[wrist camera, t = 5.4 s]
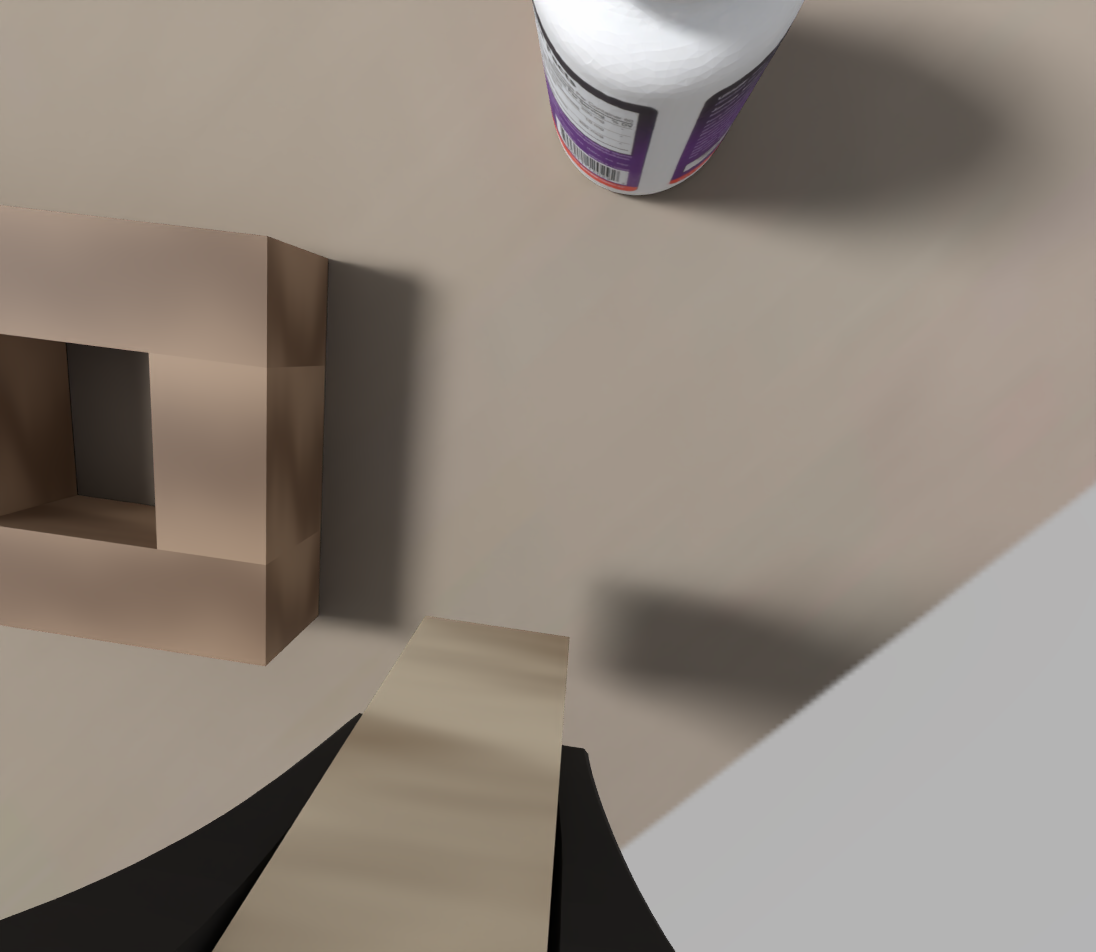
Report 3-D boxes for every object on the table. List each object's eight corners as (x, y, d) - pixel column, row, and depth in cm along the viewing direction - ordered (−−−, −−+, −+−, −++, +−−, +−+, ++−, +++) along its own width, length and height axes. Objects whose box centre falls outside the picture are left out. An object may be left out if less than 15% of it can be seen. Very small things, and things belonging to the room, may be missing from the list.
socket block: (318, 615, 21) (265, 666, 18) (0, 568, 22) (-112, 607, 18) (328, 258, 18) (267, 236, 15) (-40, 215, 19) (-182, 183, 15)
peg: (551, 762, 16) (503, 1278, 7) (415, 741, 16) (200, 1216, 7) (569, 636, 15) (540, 1047, 6) (425, 615, 15) (192, 982, 6)
